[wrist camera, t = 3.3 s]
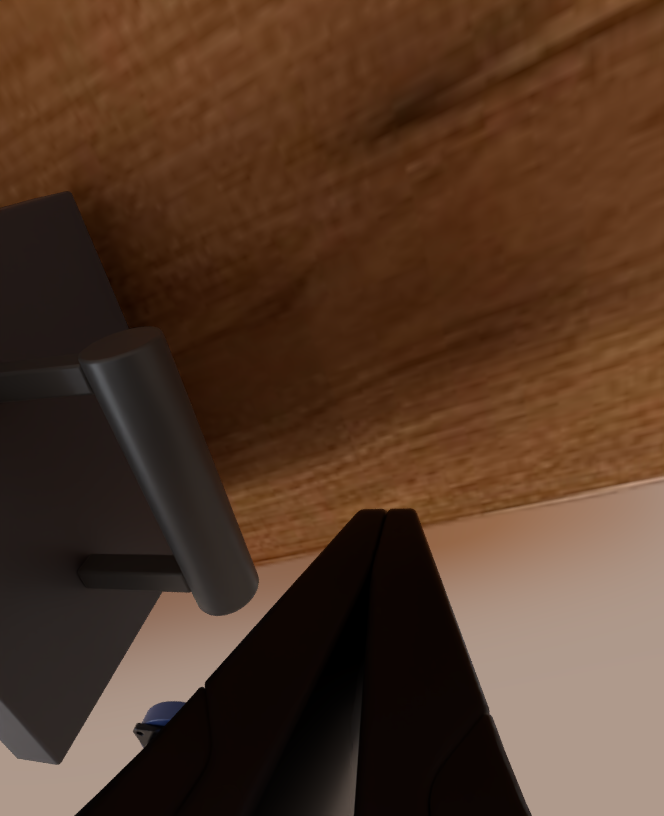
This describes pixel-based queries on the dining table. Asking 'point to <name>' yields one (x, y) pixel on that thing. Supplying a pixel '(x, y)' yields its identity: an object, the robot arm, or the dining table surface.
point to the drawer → (91, 483)
